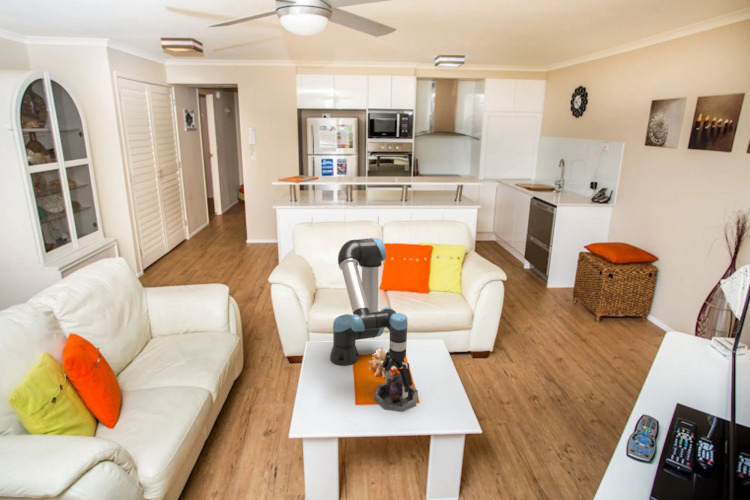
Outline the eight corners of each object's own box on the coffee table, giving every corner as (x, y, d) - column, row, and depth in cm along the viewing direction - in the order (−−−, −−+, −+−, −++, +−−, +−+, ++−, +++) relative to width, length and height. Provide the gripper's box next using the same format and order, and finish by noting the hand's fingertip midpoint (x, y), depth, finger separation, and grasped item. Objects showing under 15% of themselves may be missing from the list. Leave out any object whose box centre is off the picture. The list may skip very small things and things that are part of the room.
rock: (386, 402, 197) (409, 402, 197) (386, 388, 194) (409, 388, 193) (386, 384, 208) (407, 384, 208) (386, 370, 204) (407, 369, 204)
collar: (367, 394, 205) (367, 389, 204) (399, 381, 216) (400, 376, 215) (391, 416, 190) (391, 411, 189) (425, 401, 201) (425, 396, 200)
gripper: (375, 339, 203) (374, 380, 209) (408, 362, 184) (406, 406, 190) (388, 334, 207) (387, 375, 213) (422, 357, 188) (419, 401, 194)
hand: (396, 390), depth 202 cm, fingers closed on rock, 12 cm apart
